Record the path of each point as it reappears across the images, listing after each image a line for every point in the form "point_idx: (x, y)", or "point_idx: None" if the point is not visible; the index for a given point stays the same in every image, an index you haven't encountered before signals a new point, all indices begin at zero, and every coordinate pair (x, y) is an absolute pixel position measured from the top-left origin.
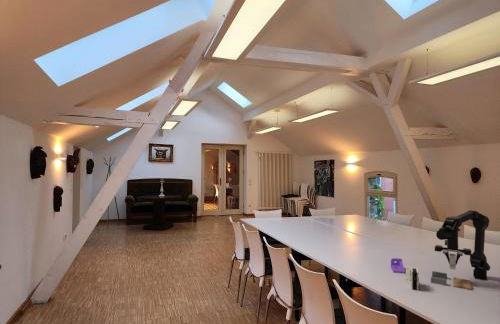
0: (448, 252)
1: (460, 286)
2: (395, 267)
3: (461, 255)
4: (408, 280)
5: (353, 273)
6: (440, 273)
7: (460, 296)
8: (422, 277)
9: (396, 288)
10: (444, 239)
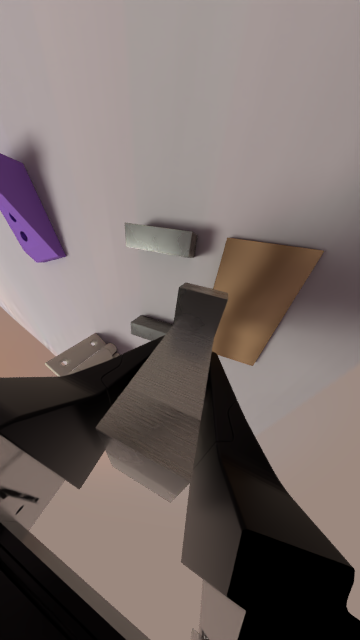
0: (59, 454)
1: (217, 354)
2: (17, 227)
3: (249, 591)
4: (95, 345)
5: (14, 311)
6: (160, 252)
7: None
8: (114, 278)
9: None
10: None
